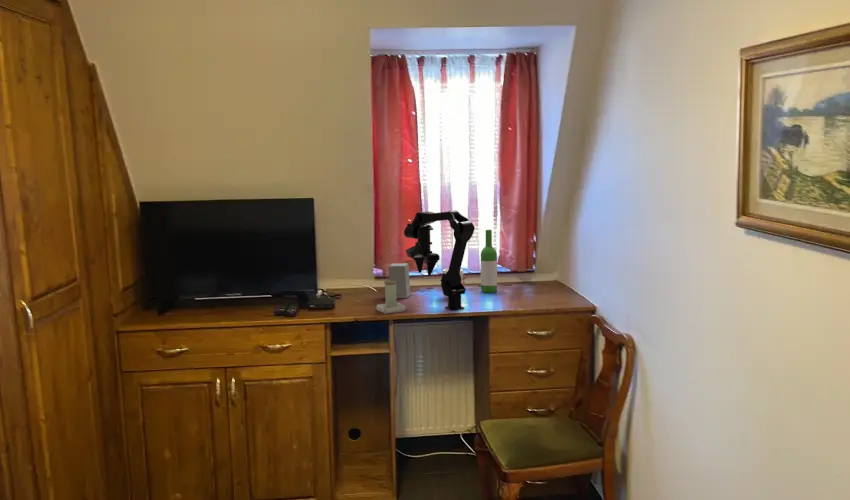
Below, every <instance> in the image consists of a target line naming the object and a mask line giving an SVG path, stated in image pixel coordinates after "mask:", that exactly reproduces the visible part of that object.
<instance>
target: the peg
mask: <svg viewBox="0 0 850 500" xmlns="http://www.w3.org/2000/svg"><path fill="white" fill-rule="evenodd" d="M384 296H385V298H384V299H385V304H386V308H393V307H397V302H398V300H397V299H398V298H397V295H396V281H389V280H386V281H384Z"/></svg>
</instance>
